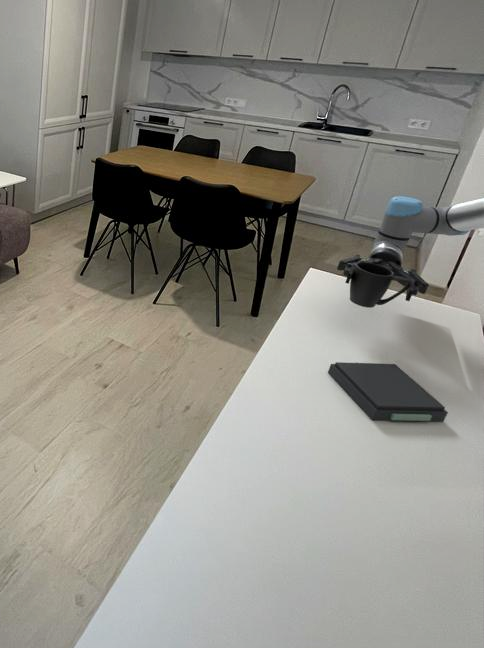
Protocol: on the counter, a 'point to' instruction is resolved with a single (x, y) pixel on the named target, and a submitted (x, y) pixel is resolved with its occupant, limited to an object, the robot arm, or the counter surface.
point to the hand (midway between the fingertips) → (378, 286)
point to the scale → (386, 392)
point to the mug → (372, 284)
